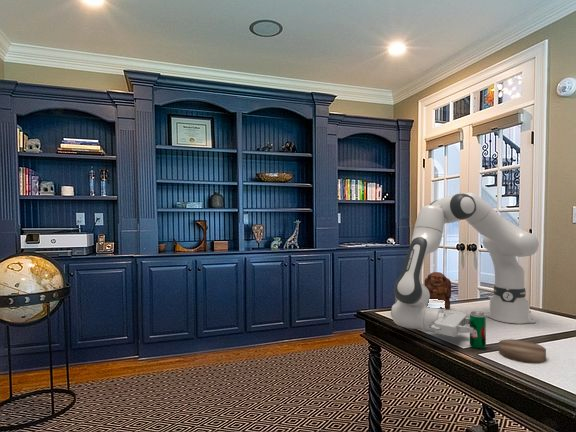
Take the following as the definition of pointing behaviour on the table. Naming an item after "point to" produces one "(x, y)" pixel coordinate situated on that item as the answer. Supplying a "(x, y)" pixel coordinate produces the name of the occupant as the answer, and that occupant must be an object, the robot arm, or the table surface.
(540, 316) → the table surface
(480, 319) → the soda can
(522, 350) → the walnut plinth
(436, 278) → the wooden figurine
